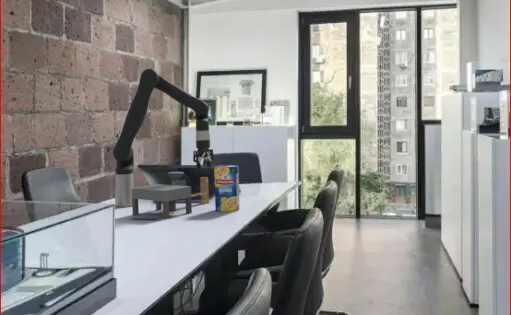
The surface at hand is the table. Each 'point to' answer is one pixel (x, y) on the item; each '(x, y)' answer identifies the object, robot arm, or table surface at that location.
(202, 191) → the oak rake
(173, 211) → the brass token
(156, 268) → the table surface
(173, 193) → the charcoal table
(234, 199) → the blue yellow food box
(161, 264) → the table surface
